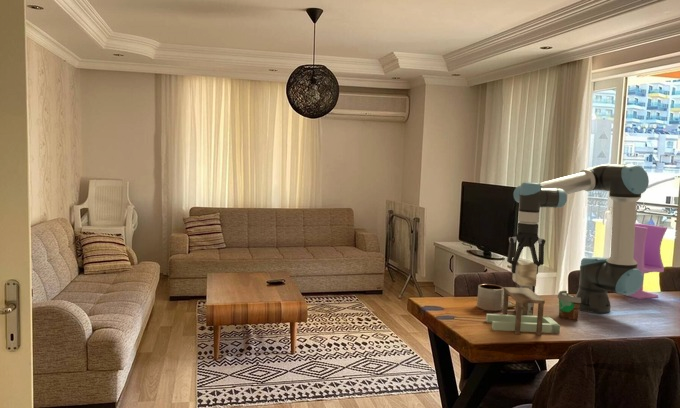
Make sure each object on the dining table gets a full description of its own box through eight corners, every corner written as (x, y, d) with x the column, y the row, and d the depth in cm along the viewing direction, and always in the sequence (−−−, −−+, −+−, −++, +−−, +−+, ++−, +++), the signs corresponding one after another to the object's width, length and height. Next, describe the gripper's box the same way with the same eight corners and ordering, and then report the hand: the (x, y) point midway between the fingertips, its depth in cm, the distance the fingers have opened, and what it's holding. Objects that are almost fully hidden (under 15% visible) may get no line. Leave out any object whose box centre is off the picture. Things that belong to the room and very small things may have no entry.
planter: (475, 309, 233) (476, 287, 232) (478, 303, 243) (480, 282, 242) (501, 313, 228) (502, 290, 228) (503, 306, 238) (505, 285, 238)
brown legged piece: (526, 319, 220) (528, 288, 219) (542, 335, 201) (544, 300, 200) (501, 318, 220) (503, 287, 219) (515, 334, 201) (517, 299, 200)
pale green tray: (548, 323, 216) (549, 316, 216) (559, 333, 204) (560, 325, 204) (485, 320, 217) (486, 313, 216) (493, 330, 205) (493, 322, 205)
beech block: (527, 280, 214) (528, 260, 213) (535, 286, 204) (537, 265, 203) (512, 279, 214) (513, 259, 213) (519, 285, 204) (521, 264, 203)
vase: (639, 299, 260) (645, 228, 257) (611, 292, 274) (617, 223, 271) (661, 297, 266) (667, 227, 263) (633, 290, 280) (638, 223, 277)
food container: (550, 312, 232) (552, 290, 231) (564, 313, 232) (566, 290, 231) (564, 321, 219) (566, 297, 219) (579, 321, 220) (581, 297, 219)
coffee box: (533, 317, 224) (536, 279, 223) (517, 315, 225) (519, 277, 224) (530, 311, 233) (532, 274, 232) (514, 309, 234) (517, 273, 233)
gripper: (549, 222, 210) (545, 280, 212) (500, 220, 211) (496, 278, 213) (556, 225, 203) (552, 285, 205) (505, 222, 203) (501, 283, 205)
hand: (523, 281), depth 209 cm, fingers closed on beech block, 6 cm apart
